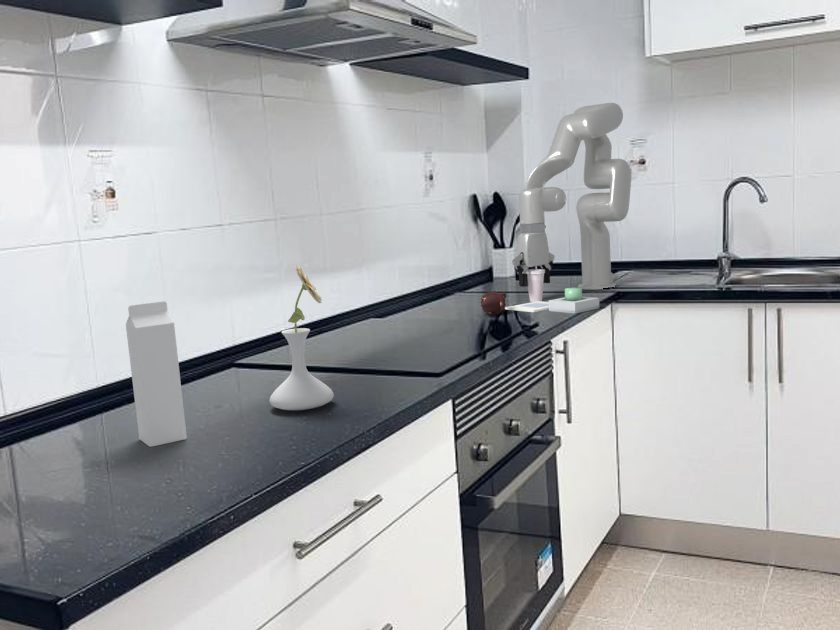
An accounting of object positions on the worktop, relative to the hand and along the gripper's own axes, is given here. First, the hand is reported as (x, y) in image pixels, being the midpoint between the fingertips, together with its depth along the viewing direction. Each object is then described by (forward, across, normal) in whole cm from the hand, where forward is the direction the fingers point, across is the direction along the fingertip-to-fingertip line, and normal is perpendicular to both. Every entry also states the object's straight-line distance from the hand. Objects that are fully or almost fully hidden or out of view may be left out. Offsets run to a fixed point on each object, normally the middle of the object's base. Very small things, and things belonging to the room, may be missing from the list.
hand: (534, 284), depth 263 cm
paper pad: (+5, +10, +10) cm, 15 cm away
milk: (+7, +141, +56) cm, 152 cm away
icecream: (+6, +25, +9) cm, 27 cm away
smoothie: (+5, 0, 0) cm, 5 cm away
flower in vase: (+6, +115, +56) cm, 128 cm away
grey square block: (+5, +8, +23) cm, 25 cm away
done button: (+3, +8, +23) cm, 24 cm away
